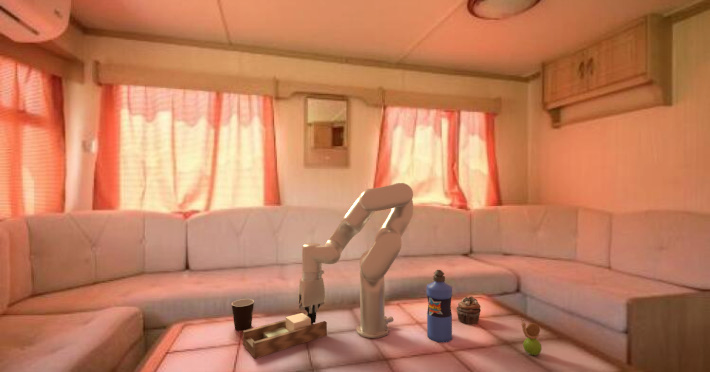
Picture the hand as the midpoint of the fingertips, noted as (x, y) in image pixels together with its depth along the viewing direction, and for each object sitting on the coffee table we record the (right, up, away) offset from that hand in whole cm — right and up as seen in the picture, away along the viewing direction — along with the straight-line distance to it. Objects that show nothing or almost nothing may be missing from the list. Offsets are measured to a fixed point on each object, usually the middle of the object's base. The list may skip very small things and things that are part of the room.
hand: (311, 321), depth 130 cm
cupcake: (+64, -4, +9) cm, 65 cm away
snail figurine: (+76, -4, -18) cm, 78 cm away
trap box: (-9, -4, -7) cm, 12 cm away
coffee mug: (-28, -4, +6) cm, 29 cm away
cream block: (-5, -1, -4) cm, 6 cm away
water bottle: (+49, -4, -5) cm, 49 cm away
